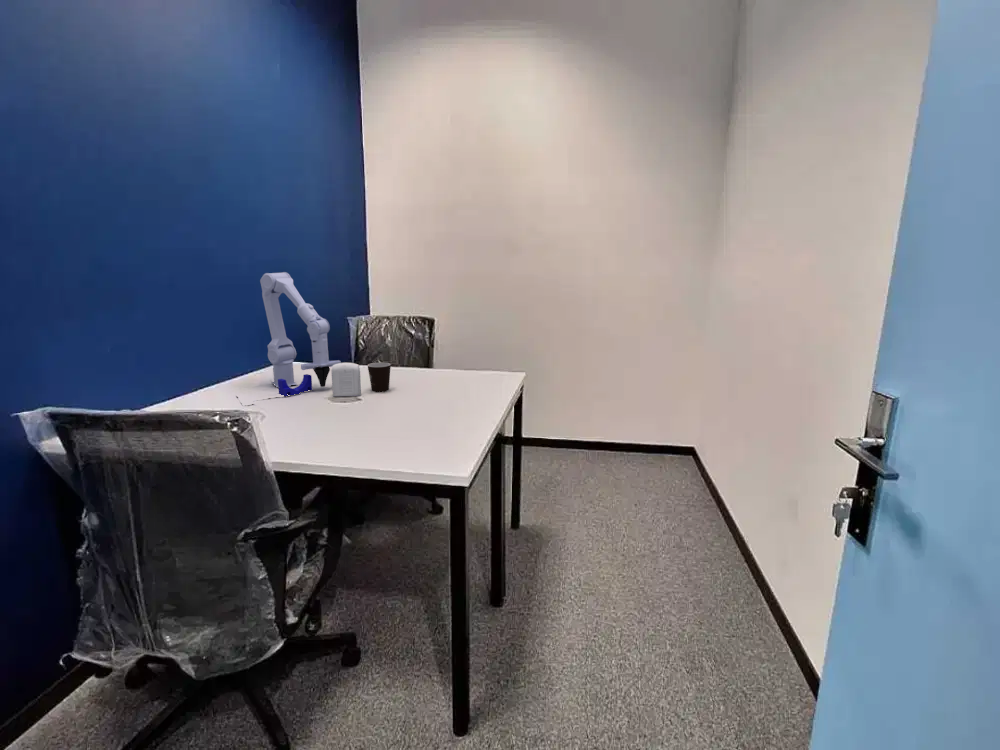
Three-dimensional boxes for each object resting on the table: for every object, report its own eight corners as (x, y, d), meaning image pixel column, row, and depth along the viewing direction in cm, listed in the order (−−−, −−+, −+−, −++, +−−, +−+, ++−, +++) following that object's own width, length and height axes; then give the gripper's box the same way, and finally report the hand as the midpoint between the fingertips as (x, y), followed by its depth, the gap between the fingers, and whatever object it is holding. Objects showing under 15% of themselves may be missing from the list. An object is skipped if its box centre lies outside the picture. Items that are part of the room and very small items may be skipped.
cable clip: (285, 397, 205) (284, 381, 204) (279, 395, 208) (277, 379, 207) (314, 391, 214) (313, 375, 213) (307, 389, 217) (306, 374, 216)
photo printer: (362, 393, 211) (360, 361, 208) (360, 396, 207) (358, 363, 204) (333, 394, 210) (331, 362, 207) (332, 397, 206) (329, 364, 203)
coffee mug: (389, 393, 211) (388, 367, 209) (366, 393, 212) (365, 367, 209) (395, 385, 223) (394, 361, 221) (373, 385, 223) (372, 360, 221)
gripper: (303, 354, 206) (306, 390, 209) (342, 351, 213) (344, 385, 216) (298, 351, 212) (301, 386, 215) (336, 348, 219) (339, 382, 222)
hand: (322, 386), depth 216 cm, fingers closed
